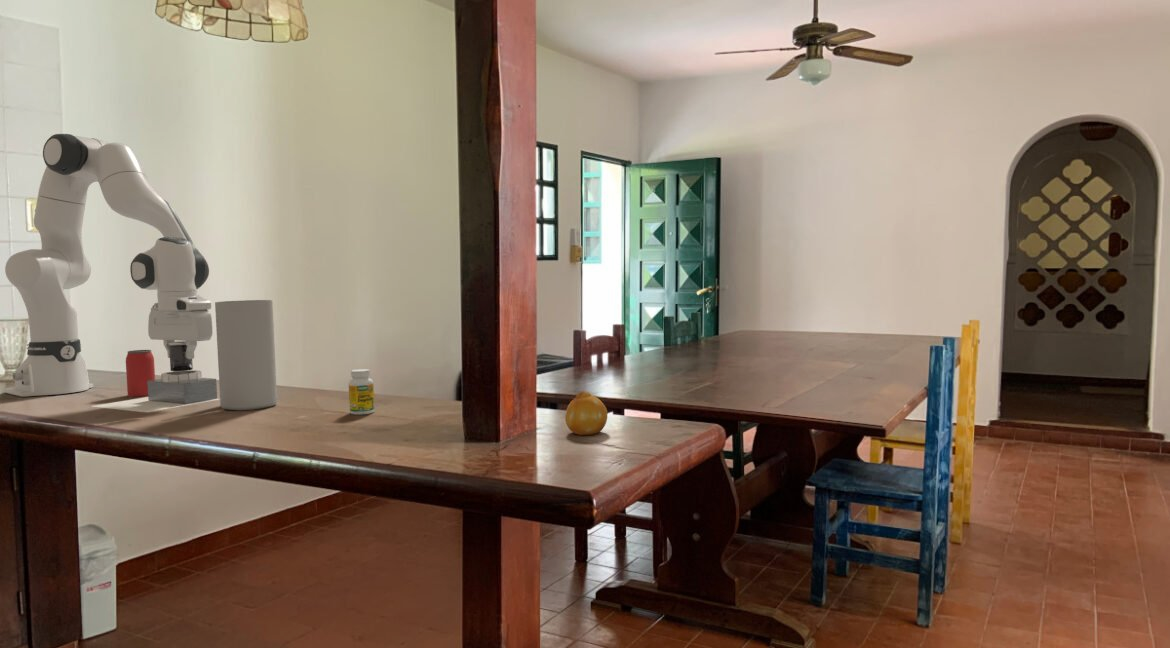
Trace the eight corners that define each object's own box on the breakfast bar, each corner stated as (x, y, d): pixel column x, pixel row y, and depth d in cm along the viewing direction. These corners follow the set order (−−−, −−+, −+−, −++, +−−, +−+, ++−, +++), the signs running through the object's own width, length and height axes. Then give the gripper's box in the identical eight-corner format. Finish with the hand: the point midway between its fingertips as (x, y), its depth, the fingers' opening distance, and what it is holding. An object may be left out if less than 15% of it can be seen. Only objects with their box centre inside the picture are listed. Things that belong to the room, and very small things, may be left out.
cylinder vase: (223, 404, 202) (218, 301, 200) (278, 400, 205) (273, 299, 204) (217, 412, 190) (211, 303, 188) (275, 408, 194) (270, 301, 192)
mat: (90, 407, 201) (90, 406, 200) (166, 395, 218) (166, 394, 218) (147, 414, 190) (147, 412, 190) (222, 400, 207) (222, 399, 207)
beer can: (121, 398, 215) (118, 352, 214) (142, 394, 221) (139, 349, 221) (142, 398, 213) (139, 352, 212) (162, 394, 220) (159, 349, 219)
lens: (165, 370, 206) (163, 342, 206) (184, 368, 211) (182, 340, 210) (179, 371, 204) (177, 343, 203) (197, 368, 208) (196, 341, 208)
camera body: (148, 400, 207) (146, 373, 207) (181, 395, 215) (179, 369, 215) (184, 404, 200) (183, 376, 200) (217, 398, 208) (215, 371, 208)
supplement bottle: (367, 409, 190) (365, 367, 189) (379, 412, 186) (377, 369, 185) (345, 413, 186) (343, 370, 185) (357, 415, 182) (355, 372, 181)
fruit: (556, 417, 162) (565, 385, 158) (594, 417, 165) (604, 386, 161) (566, 446, 156) (576, 413, 151) (607, 446, 158) (617, 413, 154)
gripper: (139, 303, 208) (143, 358, 209) (192, 303, 199) (196, 361, 200) (162, 302, 214) (166, 355, 215) (215, 302, 204) (218, 358, 205)
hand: (181, 358), depth 207 cm, fingers closed on lens, 5 cm apart
